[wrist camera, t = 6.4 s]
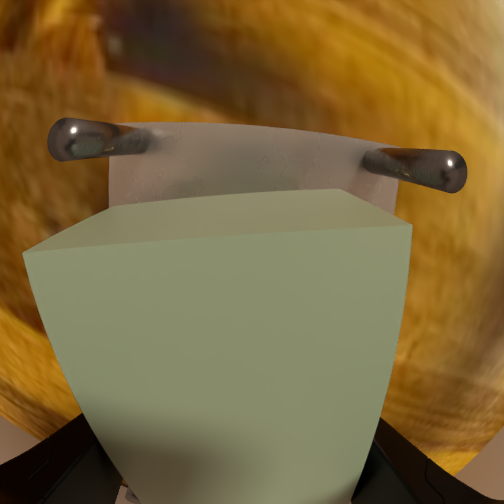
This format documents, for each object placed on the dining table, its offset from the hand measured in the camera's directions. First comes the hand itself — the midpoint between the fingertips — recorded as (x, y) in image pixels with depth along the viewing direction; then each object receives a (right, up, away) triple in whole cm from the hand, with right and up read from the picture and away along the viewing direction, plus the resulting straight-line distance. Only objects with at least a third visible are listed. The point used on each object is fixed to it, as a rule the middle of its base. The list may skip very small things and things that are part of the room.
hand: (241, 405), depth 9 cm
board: (0, 0, +1) cm, 1 cm away
